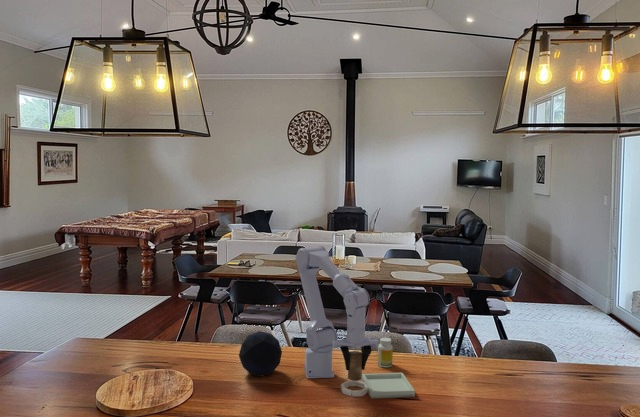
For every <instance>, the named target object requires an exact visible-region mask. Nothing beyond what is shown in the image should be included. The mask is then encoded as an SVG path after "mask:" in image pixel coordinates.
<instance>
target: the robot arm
mask: <svg viewBox="0 0 640 417" xmlns="http://www.w3.org/2000/svg"><path fill="white" fill-rule="evenodd" d="M295 262H296V265H297V269H298V270H297V271H298V273H299V278H300V281H301V285H302V289H303V293H304V298H305V302H306V307H307V310H308V315H309V319H310V324H308V326H307V327H306V329H305V332H306V344H307V346H308V348H305V351H304V352H305V353H304V371H305V377H306V379H324V378H325V379H326V378H327V379H329V378H335V374H334V371H333V349H337V348H339V349H340V351H341V353H342V356H343V359H344V365H345V370H346V371H348V370H349V353H350V352H351V351H350V349H349V348H361V350H360V352H361V353H362V371H365V367H366V366H367V365H366V364H367V361H368V360H369V359H368V358H369V357H370V355H371V353H372V351H373V350H372V347H374V348H378V346H379V344H380V340H378V339H375V338H374V339H373V338H366V307H367V306H368V305H369V304H370V300H371V299H370V298H371V297H370V294H369V292H368V290H366V288H362V287H360V286H358V285H357V284H356V283H355V282H354V281H353V280H352V279H351V278H350V276H349V274H348V273H341V271H340V270H339V269H338V267H337V266H336V265H335V263H334V261H332V260H331V258H330V251H328V250H327V249H326V248H325V246H323V245H320V246H313V247H305V248H304V247H301V248H299V249H298V250H297V253H296V255H295ZM320 270H322V271H323V272H324V273H325V275H326V276H328V277H329V278H330V279H331V280H332V286H333V287H334V288H335V289H336V291H337V292H338V293H339V294H340V295H341V296H342V298H343V303H344V307H345V312H346V315H347V316H346V317H347V318H346V319H347V320H346V324H347V325H346V338H341V339H338V333H337V331H336V329H335V327H334V324H333V322H332V321H331V320H330V319H327V318H326V317H327V316H326V313H325V308H324V305H323V301H322V297H321V291H320V288H319V284H318V280H317V273H318V271H320Z"/></svg>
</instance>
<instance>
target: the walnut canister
mask: <svg viewBox="0 0 640 417" xmlns="http://www.w3.org/2000/svg"><path fill="white" fill-rule="evenodd" d="M349 352H350V353H349V370H347V379H348V381H351V380H352V381H362V374H363V370H362V353H361V351H357V350H351V351H349Z"/></svg>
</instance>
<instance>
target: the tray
mask: <svg viewBox="0 0 640 417" xmlns="http://www.w3.org/2000/svg"><path fill="white" fill-rule="evenodd" d="M361 382H364V383H366V385H367V387H368V393H367V394H368V395H369V398H370V399H391V398H392V399H393V398H411V397H412V398H415V396H416V390H415V389H414V387H413V385H412V384H411V383H410V382H409V379H407V377H406V376H405V374H404V372H387V373H386V372H385V373H384V372H383V373H381V372H379V373H362V379H361Z"/></svg>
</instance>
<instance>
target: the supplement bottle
mask: <svg viewBox="0 0 640 417" xmlns="http://www.w3.org/2000/svg"><path fill="white" fill-rule="evenodd" d="M393 350H394V347H393V345H392V339H391V338H390V337H380V340H379V346H378V347H377V365H378V366H379V367H380V368H390V367H392V366H393V357H394V356H393V355H394V354H393V353H394V352H393Z"/></svg>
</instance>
